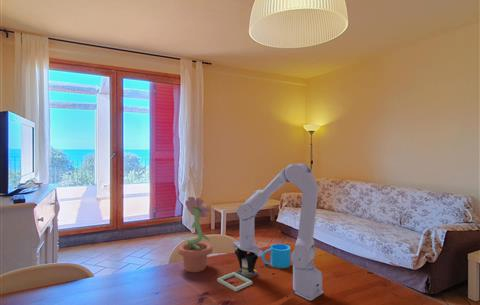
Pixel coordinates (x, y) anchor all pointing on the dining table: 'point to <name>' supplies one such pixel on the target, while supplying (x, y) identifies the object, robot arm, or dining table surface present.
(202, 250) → the decorative flower
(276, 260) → the mug
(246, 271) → the fuse
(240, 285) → the parts tray
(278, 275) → the dining table surface
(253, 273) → the grey square holder
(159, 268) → the dining table surface
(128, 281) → the dining table surface
